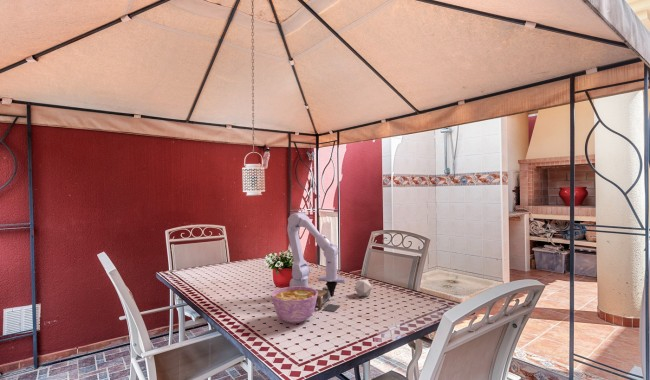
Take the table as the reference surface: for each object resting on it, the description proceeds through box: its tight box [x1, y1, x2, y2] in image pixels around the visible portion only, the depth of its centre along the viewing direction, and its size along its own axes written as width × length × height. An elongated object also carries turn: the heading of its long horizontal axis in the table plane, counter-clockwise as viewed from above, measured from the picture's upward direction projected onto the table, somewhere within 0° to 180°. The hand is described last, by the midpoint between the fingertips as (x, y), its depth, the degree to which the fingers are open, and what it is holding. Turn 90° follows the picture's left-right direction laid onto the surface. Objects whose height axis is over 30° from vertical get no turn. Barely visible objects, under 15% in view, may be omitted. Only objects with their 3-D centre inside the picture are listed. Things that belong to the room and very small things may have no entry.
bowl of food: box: [271, 286, 318, 325], centre depth 139 cm, size 20×20×12 cm
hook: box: [315, 285, 331, 307], centre depth 161 cm, size 10×15×6 cm
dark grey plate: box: [322, 303, 341, 313], centre depth 152 cm, size 6×8×1 cm
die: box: [354, 279, 373, 298], centre depth 170 cm, size 8×9×10 cm
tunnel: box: [315, 289, 327, 311], centre depth 155 cm, size 6×8×7 cm
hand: (332, 296), depth 164 cm, fingers closed
